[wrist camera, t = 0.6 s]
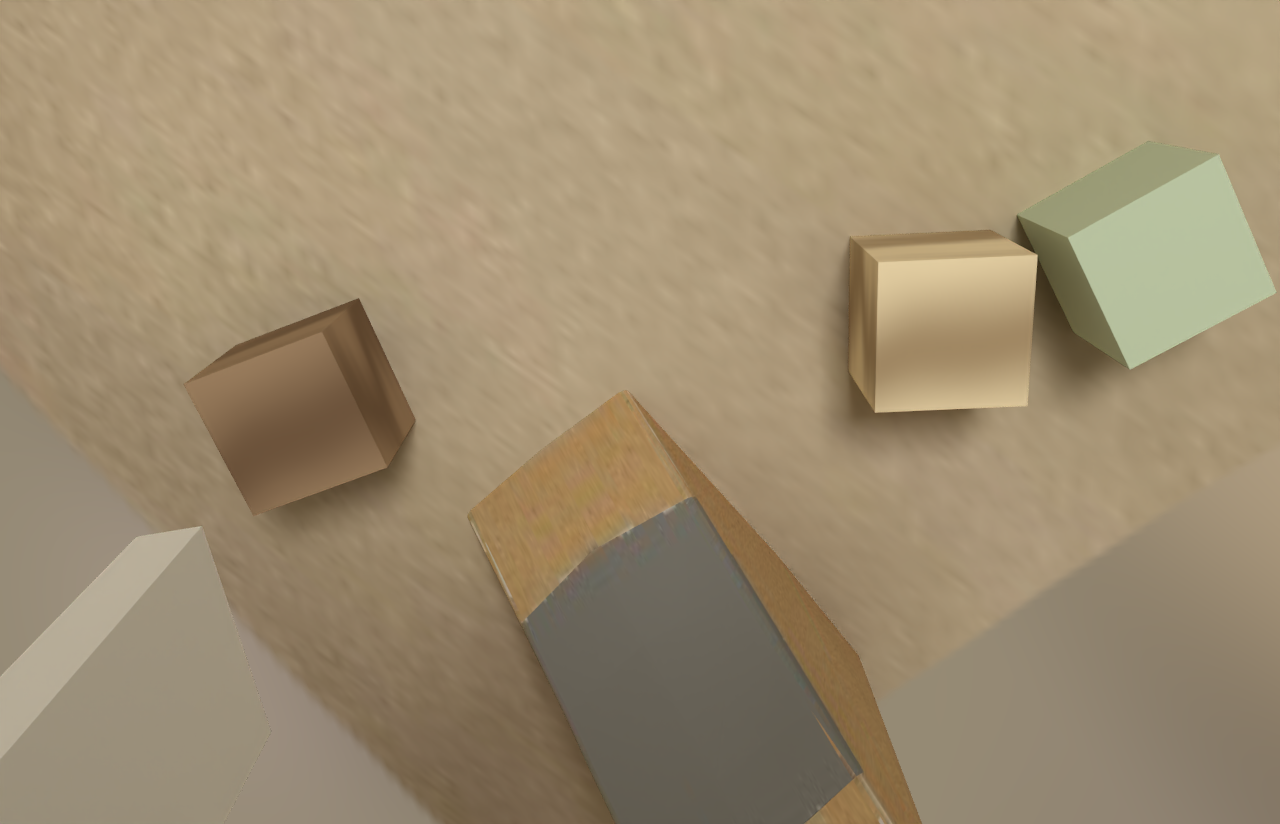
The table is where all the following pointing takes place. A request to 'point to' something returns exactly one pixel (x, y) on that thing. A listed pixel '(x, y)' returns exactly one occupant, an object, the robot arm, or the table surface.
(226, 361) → the walnut cube
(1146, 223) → the sage cube
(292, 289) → the table surface
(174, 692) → the robot arm
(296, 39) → the table surface
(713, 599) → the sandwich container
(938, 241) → the maple cube
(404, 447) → the table surface
